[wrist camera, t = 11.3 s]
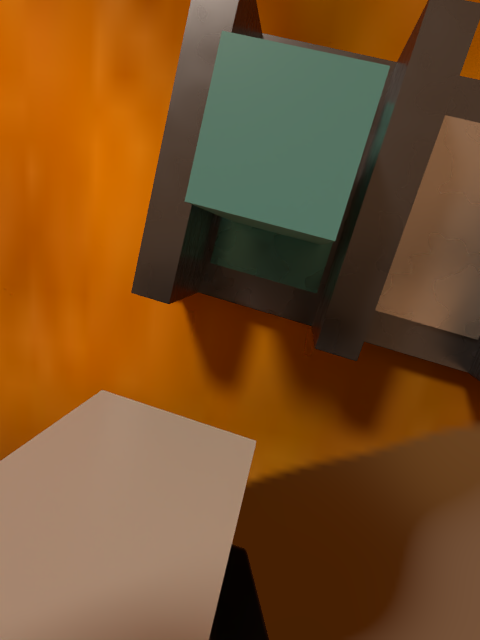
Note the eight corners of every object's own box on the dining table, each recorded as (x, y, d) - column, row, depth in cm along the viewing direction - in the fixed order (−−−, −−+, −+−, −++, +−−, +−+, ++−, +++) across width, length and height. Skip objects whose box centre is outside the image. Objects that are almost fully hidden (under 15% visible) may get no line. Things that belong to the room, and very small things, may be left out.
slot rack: (639, 128, 14) (810, 67, 10) (519, 383, 17) (607, 437, 12) (204, 33, 16) (163, -58, 12) (152, 274, 19) (100, 283, 14)
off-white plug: (256, 441, 9) (102, 1078, 2) (215, 574, 10) (12, 1333, 3) (102, 390, 9) (-453, 777, 2) (76, 522, 10) (-382, 1075, 3)
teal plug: (256, 126, 16) (221, 30, 9) (350, 148, 15) (390, 66, 8) (233, 221, 16) (184, 201, 10) (321, 245, 16) (335, 240, 9)
